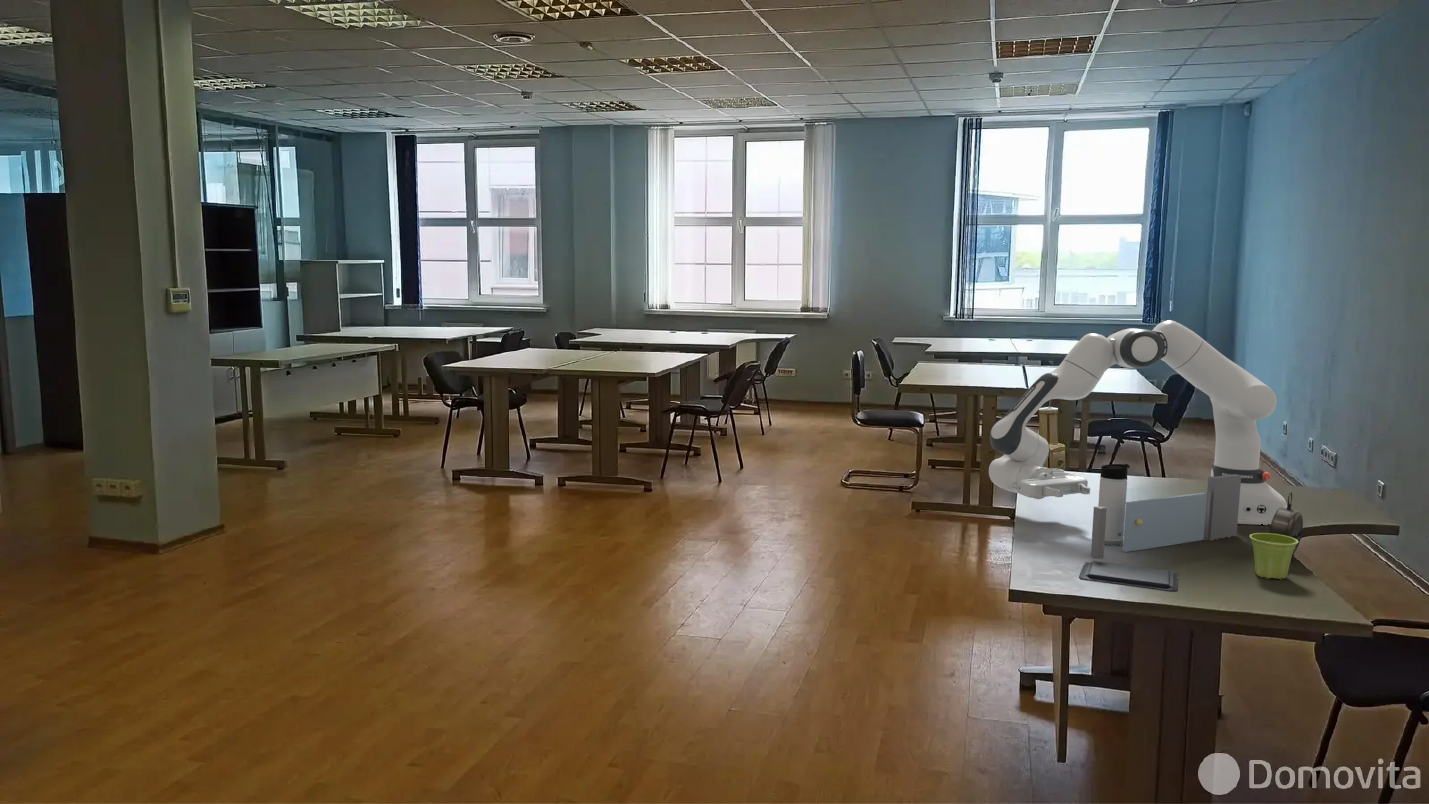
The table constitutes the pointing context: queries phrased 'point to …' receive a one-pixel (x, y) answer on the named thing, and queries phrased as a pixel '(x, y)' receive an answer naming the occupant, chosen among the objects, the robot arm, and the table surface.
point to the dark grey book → (1130, 576)
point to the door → (1166, 521)
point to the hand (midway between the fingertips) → (1074, 492)
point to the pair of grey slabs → (1220, 515)
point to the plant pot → (1272, 554)
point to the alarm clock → (1287, 523)
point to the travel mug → (1113, 500)
